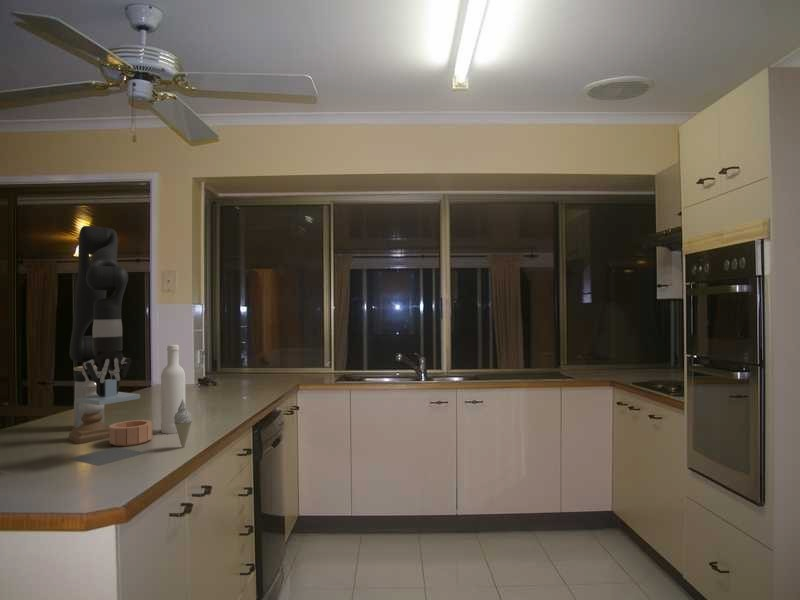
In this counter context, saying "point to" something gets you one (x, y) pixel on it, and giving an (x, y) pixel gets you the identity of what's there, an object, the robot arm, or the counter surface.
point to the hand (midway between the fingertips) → (107, 394)
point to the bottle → (171, 390)
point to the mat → (107, 456)
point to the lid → (108, 395)
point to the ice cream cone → (182, 423)
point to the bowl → (130, 432)
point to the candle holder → (89, 417)
